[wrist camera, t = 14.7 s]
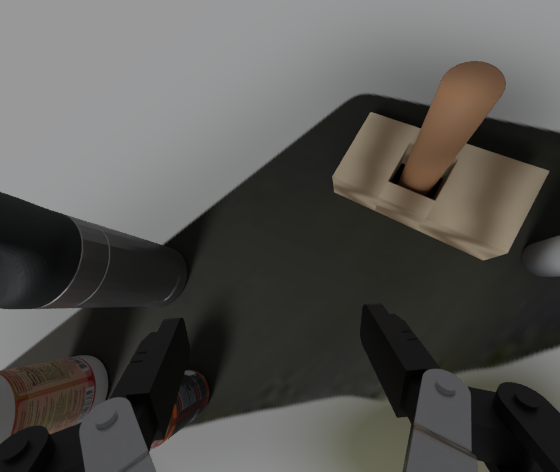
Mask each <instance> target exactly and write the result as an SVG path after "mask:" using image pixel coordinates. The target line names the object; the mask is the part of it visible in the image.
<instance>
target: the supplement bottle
mask: <svg viewBox="0 0 560 472" xmlns="http://www.w3.org/2000/svg"><path fill="white" fill-rule="evenodd" d="M208 399H209V386H208V383H207V381H206V379H205V377H204V376H203V375H202V374H201V373H199V372H198V371H195V370H185V373H184V376H183V380H182V383H181V386H180V389H179V393H178V396H177V399H176V403H175V406H174V409H173V412H172V416H171V419H170V422H169V425H168V429H167V432H166V435H165V438H164V440H157V441H153V442H152V445H151V448H150V449H153V448H155V447H157V446H159V445H160V444H162V443H163V442H165V441H166V440H167V439H169V438H170V437H171V436H172V435H174V434H175V433H176V432H178V431H179V430H180V429H182V428H183V427H184V426H186V425H187V424H188V423H190V422H191V421H192V420H193V419H195V418H196V417H197V416H199V415H200V414H201V413H202V412H203V410H204V409H205V408H206V406H207V403H208Z"/></svg>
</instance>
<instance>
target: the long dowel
mask: <svg viewBox="0 0 560 472" xmlns="http://www.w3.org/2000/svg"><path fill="white" fill-rule="evenodd" d="M505 85H506V82H505V78H504V75H503V74H502V72H501V71H500V70H499V69H498V68H496V67H495V66H493V65H491V64H488V63H485V62H478V61H471V62H465V63H462V64H459V65H456V66H455V67H453V68H452V69H450V70H449V71H448V72H447V73H446V74H445V75H444V76H443V78H442V80H441V83H440V85H439V88H438V90H437V92H436V94H435V97H434V99H433V101H432V104H431V106H430V109H429V111H428V113H427V116H426V118H425V120H424V123H423V125H422V127H421V130H420V132H419V135H418V137H417V139H416V142H415V144H414V146H413V149H412V151H411V153H410V156H409V158H408V160H407V163H406V165H405V168H404V170H403V172H402V175H401V177H400V179H399V182H398V184H397V185H398V186H400V187H403V188H405V189H408V190H410V191H413V192H415V193H417V194H420V195H422V196H425V197H426V196H427V195H428V194H429V192H430V191H431V190H432V188H433V187H434V186H435V184H436V183H437V182H438V180H439V179H440V178H441V176H442V175H443V174H444V172H445V171H446V170H447V168H448V167H449V166H450V164H451V163H452V162H453V160H454V159H455V158H456V156H457V155H458V153H459V152H460V151H461V149H462V148H463V147H464V145H465V144H466V143H467V141H468V140H469V139H470V137H471V136H472V135H473V133H474V132H475V131H476V129H477V128H478V127H479V125H480V124H481V123H482V121H483V120H484V119H485V117H486V116H487V114H488V113H489V112H490V110H491V109H492V108H493V106H494V105H495V104H496V102H497V101H498V99H499V98H500V97H501V96H502V94H503V92H504V90H505Z"/></svg>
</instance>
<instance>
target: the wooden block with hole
mask: <svg viewBox="0 0 560 472" xmlns="http://www.w3.org/2000/svg"><path fill="white" fill-rule="evenodd" d="M420 130H421V128H418V127H415V126H412V125H409V124H406V123H403V122H400V121H397V120H393V119H390V118H387V117H384V116H381V115H378V114H375V113H372V112H370V114H369V116H368V117H367V119H366V121H365V122H364V124H363V126H362V128H361V129H360V131H359V133H358V134H357V136H356V138H355V139H354V141H353V143H352V144H351V146H350V148H349V149H348V151H347V153H346V154H345V156H344V158H343V159H342V161H341V163H340V165H339V166H338V168H337V170H336V171H335V173H334V175H333V176H332V177H333V186H334V192H335V193H337V194H339V195H342V196H344V197H346V198H348V199H350V200H353V201H355V202H357V203H359V204H361V205H363V206H366V207H368V208H370V209H372V210H374V211H377V212H379V213H381V214H383V215H385V216H388V217H390V218H392V219H394V220H396V221H398V222H401V223H403V224H405V225H407V226H409V227H412V228H414V229H416V230H418V231H420V232H422V233H425V234H427V235H429V236H431V237H433V238H436V239H438V240H440V241H442V242H444V243H446V244H449V245H451V246H453V247H455V248H457V249H460V250H462V251H464V252H466V253H468V254H470V255H473V256H475V257H477V258H479V259H481V260H487V259H490V258H493V257H497V256H500V255H503V254H506V253H508V251H509V249H510V247H511V245H512V243H513V241H514V239H515V238H516V236H517V234H518V232H519V230H520V228H521V226H522V224H523V222H524V220H525V218H526V216H527V214H528V212H529V210H530V208H531V206H532V204H533V202H534V200H535V198H536V196H537V194H538V192H539V190H540V189H541V187H542V185H543V183H544V181H545V179H546V177H547V175H548V173H549V171H548V170H545V169H542V168H539V167H536V166H533V165H530V164H527V163H524V162H520V161H517V160H514V159H511V158H508V157H505V156H502V155H499V154H496V153H493V152H490V151H487V150H484V149H481V148H478V147H475V146H472V145H469V144H465V145H464V147H463V148H462V149H461V151H460V152H459V153H458V155H457V156H456V158H455V159H454V160H453V162H452V163H451V164H450V166H449V167H448V168H447V170H446V171H445V172H444V174H443V175H442V176H441V178H442V179H443V180H442V182H441V184H440V186H439V188H438V189H437V191H436V193H435V195H434V197H433V198H432V199H430V198H427V197H425V196H422V195H420V194H417V193H415V192H413V191H410V190H408V189H405V188H403V187H400V186H398V185H396V184H393V183H391V181H392V180H393V178H394V176H395V174H396V173H397V171H398V169H399V167H400V166H401V164H402V163H403V164H405V165H406V163H407V160H408V158H409V156H410V153H411V151H412V149H413V146H414V144H415V142H416V139H417V137H418V135H419V132H420Z"/></svg>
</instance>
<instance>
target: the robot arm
mask: <svg viewBox="0 0 560 472" xmlns="http://www.w3.org/2000/svg"><path fill="white" fill-rule="evenodd" d="M186 280H187V265H186V262H185V260H184V258H183V256H182V255H181V254H180V253H179V252H178V251H176V250H175V249H172V248H169V247H166V246H163V245H160V244H157V243H154V242H151V241H148V240H144V239H141V238H138V237H135V236H131V235H128V234H125V233H122V232H119V231H116V230H113V229H109V228H106V227H103V226H100V225H97V224H93V223H90V222H86V221H83V220H80V219H77V218H74V217H70V216H67V215H64V214H61V213H58V212H54V211H51V210H49V209H45V208H43V207H40V206H38V205H35V204H32V203H30V202H27V201H24V200H22V199H19V198H16V197H13V196H10V195H8V194H4V193H1V192H0V308H2V309H46V308H47V309H49V308H99V307H157V306H164V305H167V304H169V303H171V302H173V301H174V300H175V299H176V298H177V297H178V296H179V295H180V294H181V292H182V291H183V289H184V287H185V284H186ZM360 337H361V342H362V345H363V347H364V349H365V351H366V354H367V356H368V358H369V360H370V362H371V364H372V366H373V368H374V370H375V372H376V375H377V377H378V379H379V381H380V383H381V385H382V387H383V389H384V391H385V393H386V395H387V398H388V400H389V402H390V404H391V406H392V408H393V410H394V412H395V414H396V416H397V418H399V417H408V418H409V420H410V422H411V429H410V434H409V439H408V445H407V450H406V455H405V461H404V467H403V471H402V472H478V466H477V460H479V461H483V462H484V463H485V465H486V466H487V468H488V469H489V471H490V472H560V413H559V412H558V411H557V410H556V409H555V408H554V407H553V406H552V405H551V404H550V403H549V402H548V401H547V400H546V399H545V398H544V397H543V396H541V395H540V394H539V393H537V392H536V391H534V390H532V389H530V388H528V387H526V386H524V385H521V384H517V383H512V382H505V383H502V384H500V385H499V387H498V389H497V391H496V392H492V391H487V390H481V389H476V388H471V387H468V386H466V384H465V383H464V382H463V381H462V380H461V379H460V378H458V377H457V376H456V375H454V374H452V373H450V372H448V371H445V370H441V368H440V367H439V366H438V364H437V363H436V362H435V360H434V359H433V358H432V356H431V355H430V354H429V352H428V351H427V350H426V348H425V347H424V346H423V344H422V343H421V342H420V341H419V340H418V338H417V337H416V335H415V334H414V333H413V332H412V330H411V329H410V327H409V326H408V325H407V323H406V322H405V321H404V320H402V319H401V318H400V317H398V316H397V315H395V314H389V313H388V312H387V310H386V309H385V308H384V306H383V305H382V304H381V303H378V304H365V305H363V308H362V318H361V328H360ZM189 354H190V346H189V341H188V336H187V331H186V327H185V322H184V319H183V318H173V319H164V320H163V322H162V324H161V326H160V328H159V330H158V332H151V333H150V334H149V335H148V336H147V337H146V338H145V339H144V340H142V341H141V343H140V345H139V346H138V348H137V350H136V352H135V355H133V357H132V359H131V361H130V364H128V366H127V368H126V370H125V372H124V373H123V375H122V377H121V379H120V381H119V382H118V384H117V386H116V388H115V389H114V391H113V393H112V395H111V397H110V398H109V400H106V401H104V402H102V403H101V404H99V405H97V406H96V407H95V408H94V409H92V410H91V411H90V412H89V413H88V415H87V416H86V417H85V418H84V420H83V422H81V423H79V424H76V425H74V426H71V427H68V428H66V429H63V430H60V431H58V432H55V433H52V434H49V432H48V430H47V429H46V428H45V427H43V426H39V425H38V426H31V427H28V428H25V429H22V430H20V431H18V432H16V433H15V434H13V435H11V436H10V437H8V438H7V439H6V440H4V441H3V442H2V443H1V444H0V472H156V470H155V467H154V465H153V462H152V459H151V457H150V454H149V451H150V448H151V445H152V442H153V441H157V440H164V438H165V435H166V432H167V429H168V425H169V422H170V419H171V416H172V412H173V409H174V406H175V403H176V399H177V396H178V393H179V389H180V386H181V383H182V380H183V376H184V373H185V370H186V367H187V363H188V360H189Z"/></svg>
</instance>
